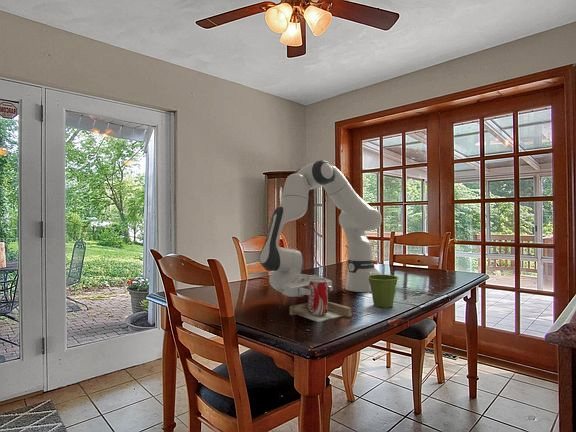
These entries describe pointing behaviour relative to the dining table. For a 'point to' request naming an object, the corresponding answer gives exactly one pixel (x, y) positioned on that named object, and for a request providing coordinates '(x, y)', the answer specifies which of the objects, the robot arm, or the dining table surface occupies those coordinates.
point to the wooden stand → (332, 313)
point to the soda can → (318, 297)
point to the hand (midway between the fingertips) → (321, 290)
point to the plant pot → (383, 289)
